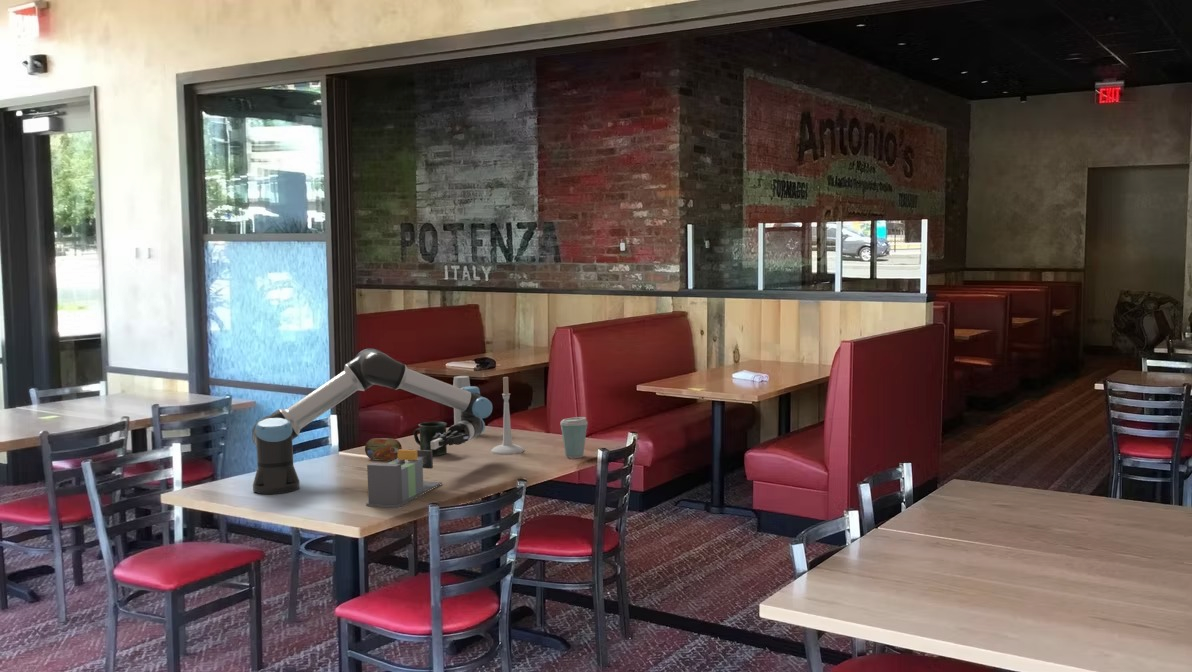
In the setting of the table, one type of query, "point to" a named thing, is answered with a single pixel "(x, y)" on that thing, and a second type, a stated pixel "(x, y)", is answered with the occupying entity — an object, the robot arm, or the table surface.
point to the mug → (430, 436)
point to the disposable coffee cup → (574, 436)
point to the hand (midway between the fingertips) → (432, 445)
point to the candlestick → (506, 427)
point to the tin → (382, 448)
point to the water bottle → (460, 382)
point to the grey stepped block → (396, 483)
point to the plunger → (424, 458)
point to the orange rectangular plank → (407, 454)
